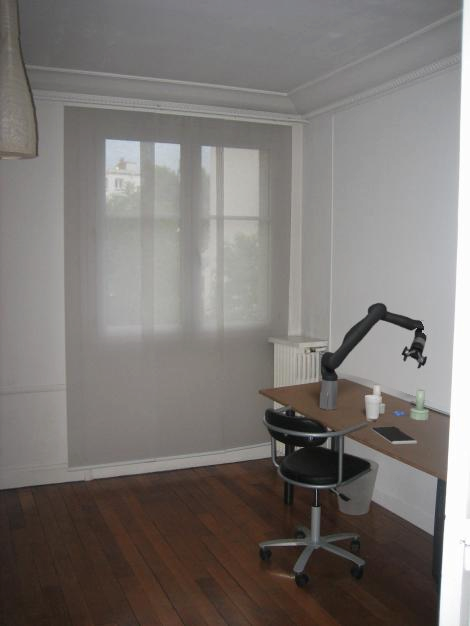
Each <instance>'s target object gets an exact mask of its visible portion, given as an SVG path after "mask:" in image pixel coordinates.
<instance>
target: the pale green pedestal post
mask: <svg viewBox="0 0 470 626" xmlns="http://www.w3.org/2000/svg"><path fill="white" fill-rule="evenodd" d="M425 397H426V390H424V389H416V397H415V399H416V400H415V407H411V408H410V409H409V418H410V419H413V420H415V421H416V420H417V421H427V420H429V415H430V414H429V412H430V410H429V409H427V408H425Z"/></svg>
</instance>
